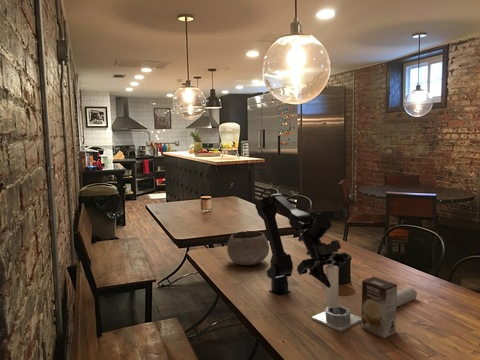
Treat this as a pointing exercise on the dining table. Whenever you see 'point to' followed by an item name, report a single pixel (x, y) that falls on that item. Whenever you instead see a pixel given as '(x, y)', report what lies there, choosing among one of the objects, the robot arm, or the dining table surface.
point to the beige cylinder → (332, 286)
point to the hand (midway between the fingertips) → (334, 285)
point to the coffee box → (379, 306)
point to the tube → (405, 296)
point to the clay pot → (248, 247)
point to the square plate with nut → (337, 318)
